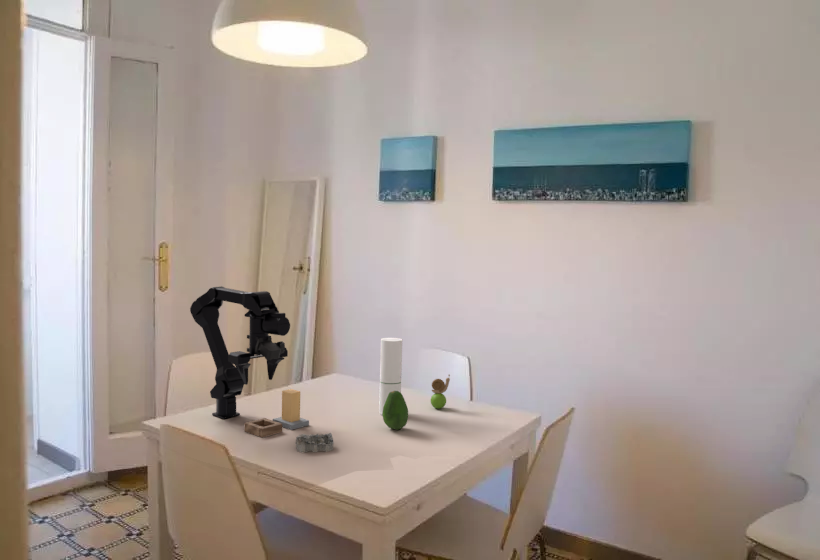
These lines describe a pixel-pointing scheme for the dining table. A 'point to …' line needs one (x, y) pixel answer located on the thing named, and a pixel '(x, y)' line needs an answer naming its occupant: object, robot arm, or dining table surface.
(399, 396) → the avocado
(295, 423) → the grey rubber mat
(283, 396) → the amber plug
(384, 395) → the cylindrical container
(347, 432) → the dining table surface
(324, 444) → the egg carton
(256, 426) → the brown square frame
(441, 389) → the snail figurine
